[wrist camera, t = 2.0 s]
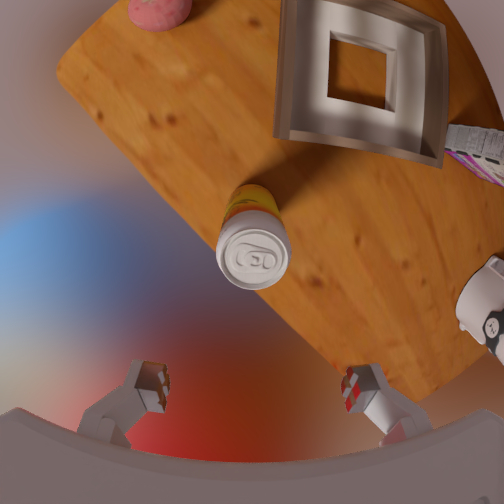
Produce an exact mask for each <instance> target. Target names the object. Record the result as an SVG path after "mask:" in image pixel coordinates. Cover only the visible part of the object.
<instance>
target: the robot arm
mask: <svg viewBox="0 0 504 504" xmlns="http://www.w3.org/2000/svg"><path fill="white" fill-rule="evenodd" d="M456 316H457V318H458V319H459V321H460V329H461V330H463V331H464V330H466V329H467V331H468V332H469V333H470V334H471V335H472V336H473V337H474V338H475V339H476V340H477V341H478V342H479V343H480V344H486V346H487V347H488V348H489V351H490V352H491V353H492V354H493V355H494V356H497V357H498V358H499V359H500V361H501V362H502V364H503V365H504V260H502V259H500V258H498V257H496V256H494V255H493V256H492V257H491V258H490V259H489V260H488V262H487V263H486V264H485V266H484V267H482V268H481V269H480V270H479V271H477V272H476V273H475V274H474V275H473V276H472V278H471V279H470V280H469V281H468V283H467V284H466V286H465V287H464V289H463V291H462V293H461V295H460V297H459V299H458V302H457V306H456ZM346 373H347V375H345V376H344V377H343V379H342V381H341V392H342V395H343V396H344V397H345V398H346V401H345V406H346V409H347V412H348V414H349V413H356V412H364V413H365V414H366V415H367V416H368V417H369V418H370V419H371V420H372V421H373V422H374V423H375V424H376V425H377V426H378V427H379V428H380V429H381V430H382V431H383V432H384V433H385V434H386V436H385V437H384V438H383V439H382V440H381V441H380V443H379V445H380V447H378V448H374V449H369V450H365V451H360V452H355V453H350V454H345V455H339V456H333V457H326V458H319V459H312V460H302V461H290V462H272V463H230V462H212V461H201V460H192V459H183V458H176V457H170V456H164V455H158V454H153V453H147V452H142V451H138V450H134V449H131V443H130V442H129V441H128V439H127V438H126V437H125V435H124V434H125V433H126V432H127V431H128V430H129V429H130V428H131V427H132V426H133V425H134V424H135V423H136V422H137V421H138V420H139V419H140V418H141V417H142V416H143V415H144V414H145V413H146V412H147V411H152V412H159V413H165V408H166V404H167V400H166V396H167V395H168V394H169V390H170V376H169V375H168V374H167V365H166V364H161V363H154V362H149V361H143V360H137V359H134V360H133V361H132V363H131V365H130V368H129V371H128V373H127V376H126V379H125V381H124V384H123V386H118V387H117V388H116V389H114V390H113V391H112V392H110V393H109V394H107V395H106V396H105V397H103V398H102V399H101V400H99V401H98V402H96V403H95V404H93V405H92V406H91V407H89V408H88V409H86V410H85V412H84V414H83V417H82V419H81V422H80V425H79V427H78V430H77V432H74V431H71V430H69V429H66V428H63V427H61V426H59V425H56V424H54V423H52V422H49V421H47V420H45V419H43V418H41V417H38V416H36V415H34V414H32V413H30V412H28V411H26V410H24V409H22V408H18V407H17V408H14V409H12V410H10V411H8V412H6V413H4V414H2V415H1V416H0V504H504V419H502V418H501V417H499V416H497V415H496V414H494V413H492V412H490V411H488V410H486V409H479V410H477V411H475V412H473V413H471V414H469V415H467V416H464V417H462V418H460V419H458V420H456V421H453V422H451V423H449V424H446V425H444V426H442V427H439V428H437V429H433V427H432V425H431V422H430V420H429V418H428V416H427V413H426V411H425V410H424V409H422V408H421V407H419V406H418V405H416V404H415V403H414V402H412V401H411V400H410V399H408V398H407V397H405V396H404V395H402V394H401V393H400V392H398V391H397V390H395V389H394V388H390V386H389V384H388V382H387V380H386V377H385V375H384V373H383V371H382V369H381V367H380V364H378V363H373V364H363V365H355V366H349V367H348V368H347V370H346Z"/></svg>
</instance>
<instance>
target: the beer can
mask: <svg viewBox="0 0 504 504" xmlns="http://www.w3.org/2000/svg"><path fill="white" fill-rule="evenodd" d="M216 258H217V262H218V265H219V267H220V269H221V270H222V272H223V273H224V275H225V276H226V277H227V279H228V280H229V281H231V282H232V283H233V284H235V285H236V286H239V287H241V288H244V289H250V290H258V289H263V288H266V287H269V286H271V285H273V284H274V283H276V282H277V281H278V280H279V279H280V278H281V277H282V276H283V275H284V273H285V271H286V269H287V267H288V265H289V263H290V260H291V245H290V242H289V239H288V236H287V233H286V230H285V227H284V224H283V222H282V219H281V216H280V213H279V210H278V208H277V205H276V202H275V200H274V197H273V195H272V194H271V193H270V192H269V191H268V190H267V189H266V188H264V187H262V186H260V185H255V184H248V185H244V186H241V187H239V188H238V189H236V190H235V191H234V192H233V193H232V194H231V196H230V198H229V200H228V203H227V207H226V211H225V215H224V219H223V223H222V227H221V231H220V235H219V239H218V243H217V248H216Z"/></svg>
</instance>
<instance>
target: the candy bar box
mask: <svg viewBox="0 0 504 504" xmlns="http://www.w3.org/2000/svg"><path fill="white" fill-rule="evenodd" d="M444 151H445V152H446V153H448V154H449V155H451V156H452V157H453V158H455V159H456V160H457V161H459V162H460V163H461V164H463V165H464V166H465V167H467V168H468V169H469V170H470V171H472V172H473V173H474V174H475V175H476V176H478V177H479V178H481V179H484V180H487V181H489V182H492V183H494V184H497V185H499V186H502V187H504V130H498V129H491V128H484V127H478V126H469V125H461V124H450V123H449V124H448V127H447V132H446V142H445V150H444Z"/></svg>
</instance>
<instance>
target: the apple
mask: <svg viewBox="0 0 504 504" xmlns="http://www.w3.org/2000/svg"><path fill="white" fill-rule="evenodd" d="M191 7H192V0H130V3H129V6H128V14H129V18H130V20H131V21H132V22H133V23H134V24H135V25H136V26H138V27H140V28H141V29H144V30H147V31H153V32H160V31H166V30H170V29H172V28H174V27H176V26H178V25H179V24H181V23H182V22H183V21H184V20H185V19H186V18H187V17H188V15H189V13H190V11H191Z"/></svg>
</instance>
